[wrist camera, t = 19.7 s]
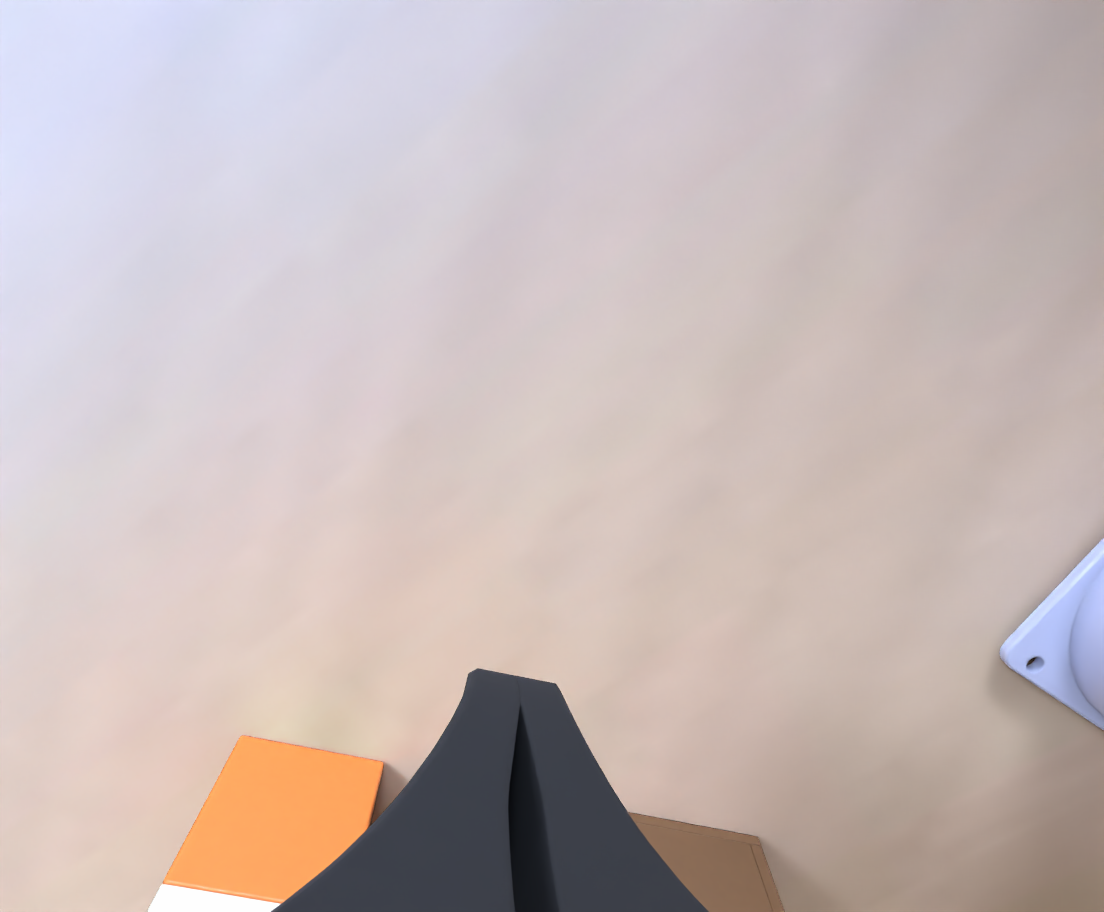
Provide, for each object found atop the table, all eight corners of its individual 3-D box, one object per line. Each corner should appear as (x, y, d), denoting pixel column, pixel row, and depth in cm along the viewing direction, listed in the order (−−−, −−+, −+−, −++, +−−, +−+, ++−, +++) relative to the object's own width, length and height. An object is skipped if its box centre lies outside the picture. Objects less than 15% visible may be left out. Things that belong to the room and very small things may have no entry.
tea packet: (240, 733, 24) (142, 917, 18) (384, 760, 25) (337, 949, 19) (226, 817, 25) (129, 1020, 19) (366, 842, 26) (314, 1047, 19)
